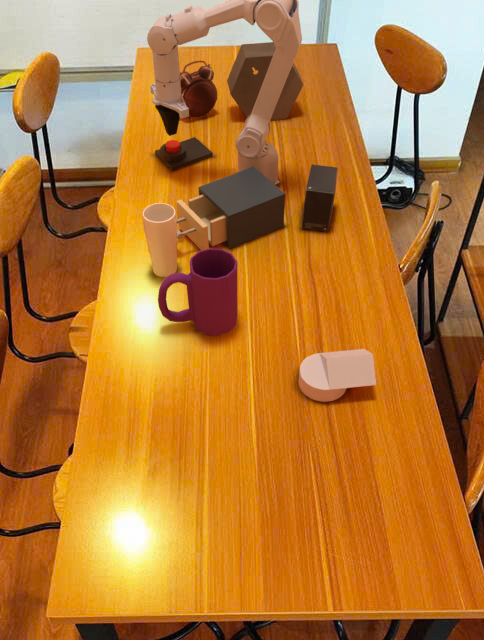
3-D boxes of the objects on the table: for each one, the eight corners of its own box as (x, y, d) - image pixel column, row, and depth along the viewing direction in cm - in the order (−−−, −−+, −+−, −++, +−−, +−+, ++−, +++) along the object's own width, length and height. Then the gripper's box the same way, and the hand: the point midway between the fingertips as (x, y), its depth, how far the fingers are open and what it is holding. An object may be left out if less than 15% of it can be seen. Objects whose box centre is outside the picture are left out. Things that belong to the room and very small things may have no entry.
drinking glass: (185, 264, 151) (180, 205, 139) (173, 283, 147) (168, 225, 135) (156, 257, 152) (150, 199, 140) (144, 277, 148) (136, 218, 136)
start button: (175, 144, 176) (175, 138, 175) (182, 151, 174) (182, 144, 173) (163, 148, 175) (162, 142, 174) (170, 155, 173) (169, 149, 172)
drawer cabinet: (229, 248, 154) (228, 215, 147) (200, 219, 161) (198, 186, 154) (283, 226, 158) (285, 193, 152) (252, 199, 165) (253, 166, 159)
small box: (329, 233, 157) (334, 193, 148) (300, 229, 158) (304, 190, 149) (334, 205, 163) (339, 166, 155) (306, 202, 164) (310, 163, 156)
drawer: (185, 261, 150) (183, 235, 144) (160, 233, 156) (157, 207, 151) (255, 232, 156) (256, 206, 150) (228, 207, 162) (228, 181, 157)
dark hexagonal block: (307, 86, 190) (269, 23, 176) (313, 100, 185) (274, 36, 171) (256, 122, 196) (215, 64, 182) (260, 136, 191) (218, 78, 177)
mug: (241, 334, 137) (241, 276, 125) (163, 343, 135) (156, 286, 124) (233, 303, 142) (233, 244, 131) (159, 311, 141) (152, 253, 130)
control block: (195, 141, 182) (194, 130, 180) (212, 156, 177) (212, 146, 175) (154, 155, 178) (153, 144, 176) (171, 171, 173) (170, 160, 171)
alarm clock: (211, 108, 193) (210, 53, 181) (219, 115, 190) (217, 60, 179) (176, 117, 190) (171, 62, 178) (182, 125, 187) (179, 70, 176)
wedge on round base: (361, 360, 132) (294, 367, 131) (366, 336, 126) (296, 342, 126) (373, 396, 126) (303, 403, 125) (379, 372, 121) (306, 379, 120)
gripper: (136, 69, 157) (142, 125, 168) (167, 95, 149) (172, 152, 160) (163, 61, 159) (167, 116, 170) (195, 86, 152) (198, 143, 162)
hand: (171, 133), depth 165 cm, fingers closed
